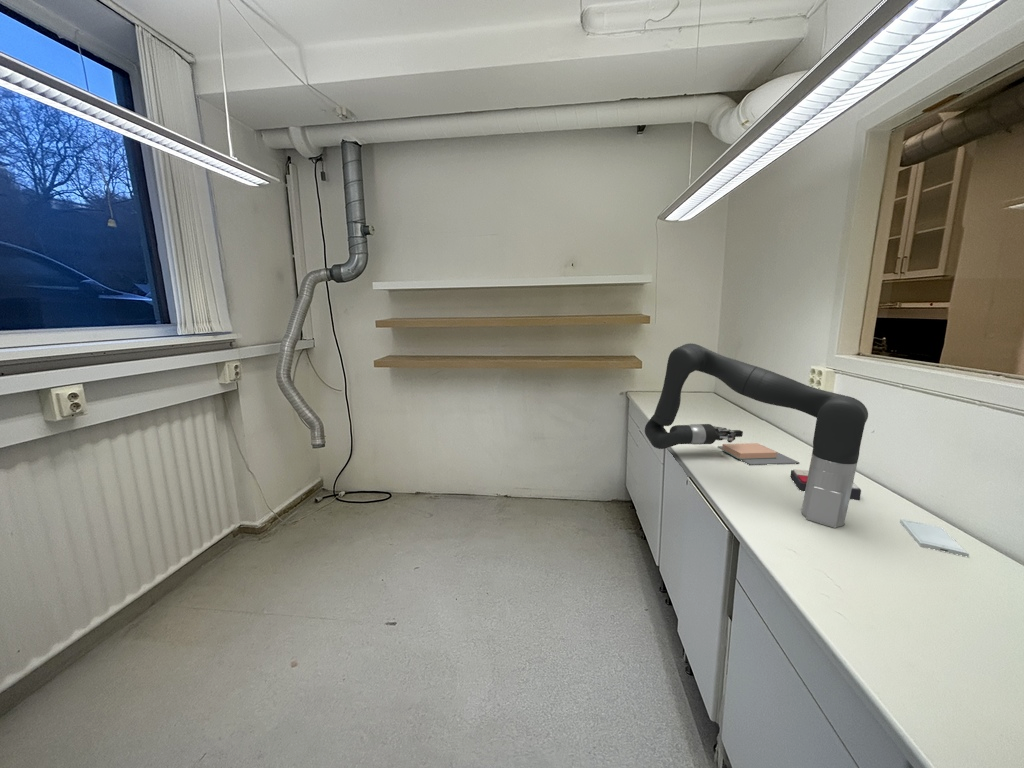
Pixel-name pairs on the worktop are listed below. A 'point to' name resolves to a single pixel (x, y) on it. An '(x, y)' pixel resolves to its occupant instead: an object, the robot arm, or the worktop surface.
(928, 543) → the hard drive
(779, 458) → the mat
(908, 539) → the worktop surface
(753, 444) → the tile
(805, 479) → the calculator
